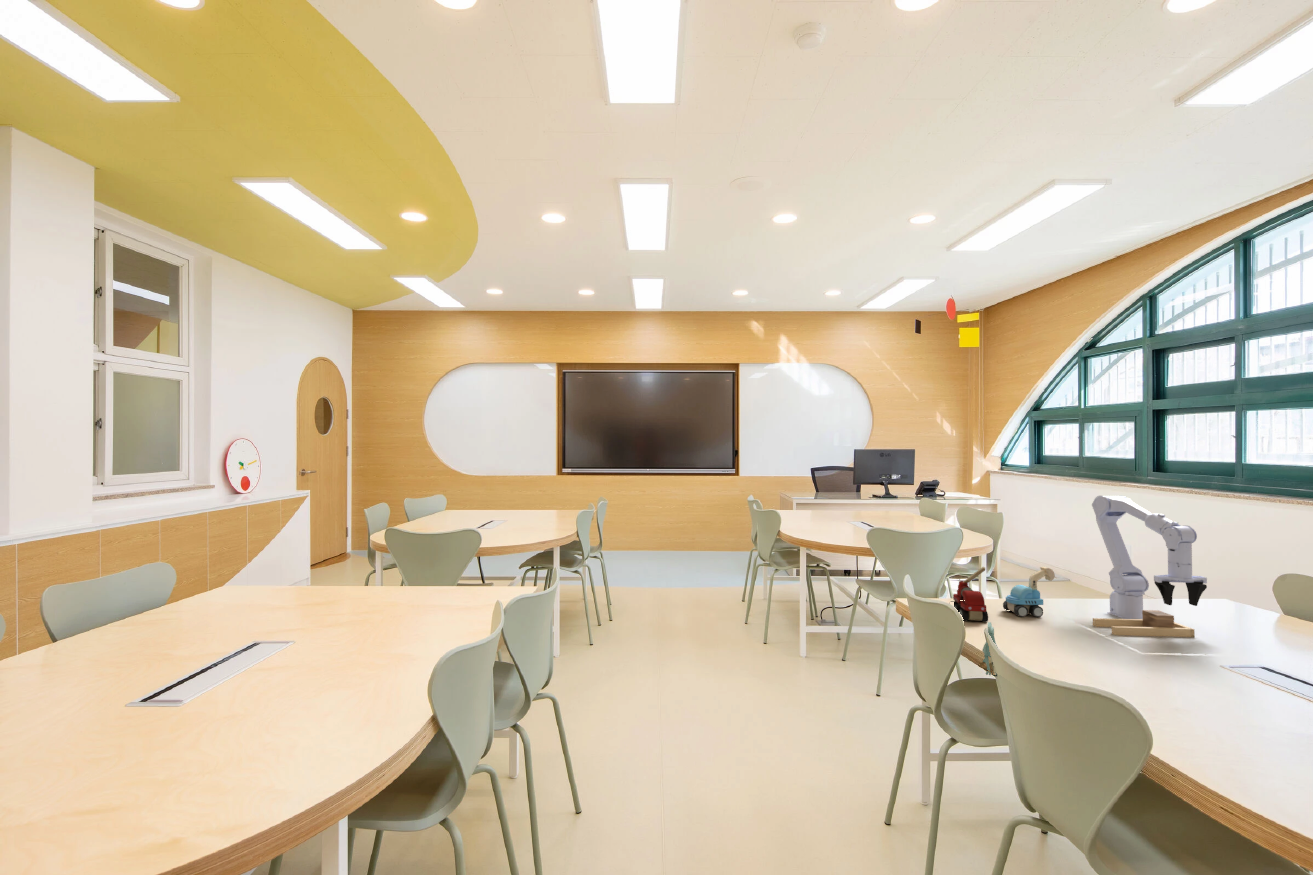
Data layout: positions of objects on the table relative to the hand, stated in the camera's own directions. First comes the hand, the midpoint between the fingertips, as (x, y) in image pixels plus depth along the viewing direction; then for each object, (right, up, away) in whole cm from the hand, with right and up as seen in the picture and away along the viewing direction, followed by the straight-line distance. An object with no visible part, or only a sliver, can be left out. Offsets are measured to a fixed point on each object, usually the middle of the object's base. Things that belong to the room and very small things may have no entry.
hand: (1180, 604), depth 178 cm
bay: (-11, -10, +2) cm, 15 cm away
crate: (-6, -9, +2) cm, 11 cm away
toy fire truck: (-56, -11, +20) cm, 61 cm away
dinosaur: (-77, -10, -27) cm, 82 cm away
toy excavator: (-33, -11, +23) cm, 42 cm away
